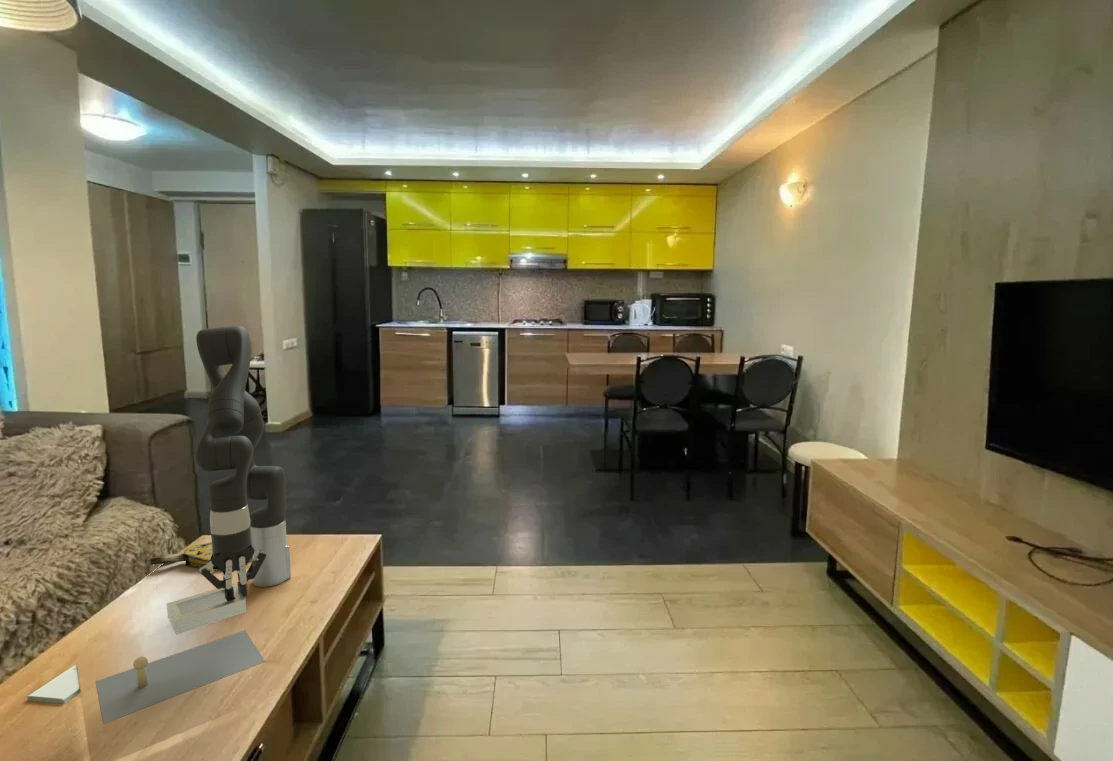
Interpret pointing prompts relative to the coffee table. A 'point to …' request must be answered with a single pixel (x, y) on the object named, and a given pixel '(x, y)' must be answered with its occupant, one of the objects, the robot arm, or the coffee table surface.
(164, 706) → the coffee table surface
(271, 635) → the coffee table surface
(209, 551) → the pulley block
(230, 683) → the coffee table surface
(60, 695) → the external hard drive
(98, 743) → the coffee table surface
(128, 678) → the board
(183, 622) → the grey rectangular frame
